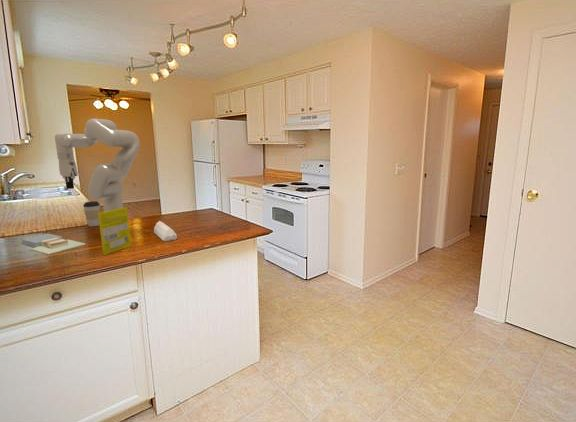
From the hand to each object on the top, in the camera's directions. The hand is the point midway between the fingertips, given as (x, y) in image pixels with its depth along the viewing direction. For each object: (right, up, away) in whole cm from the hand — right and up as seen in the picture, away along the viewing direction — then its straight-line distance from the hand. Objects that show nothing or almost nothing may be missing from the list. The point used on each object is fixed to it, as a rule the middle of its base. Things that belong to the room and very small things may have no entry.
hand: (70, 188), depth 178 cm
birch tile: (+10, -30, -24) cm, 40 cm away
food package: (+44, -32, -30) cm, 63 cm away
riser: (-1, -29, -18) cm, 35 cm away
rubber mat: (+12, -31, -25) cm, 42 cm away
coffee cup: (+2, -22, +18) cm, 29 cm away
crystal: (+58, -28, -6) cm, 64 cm away
